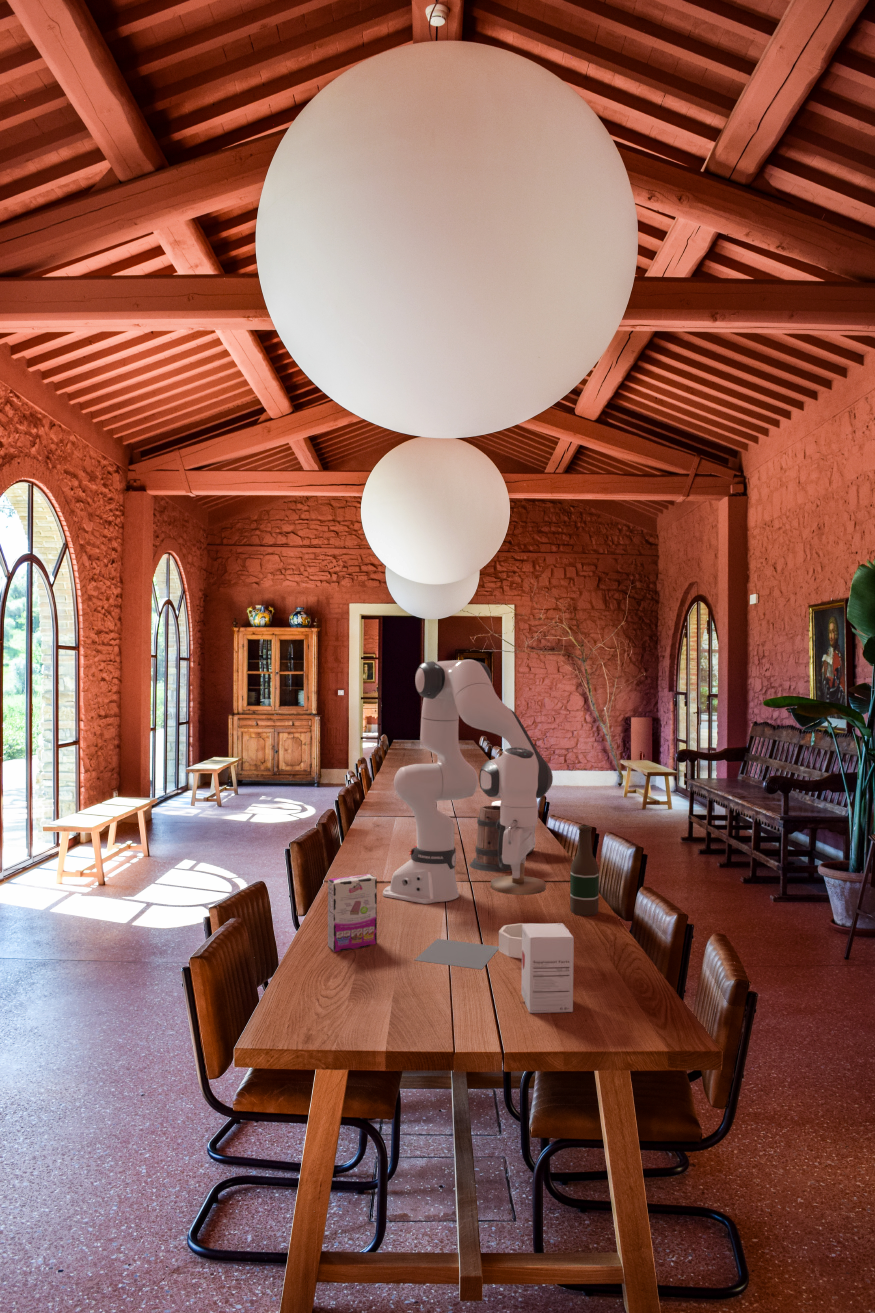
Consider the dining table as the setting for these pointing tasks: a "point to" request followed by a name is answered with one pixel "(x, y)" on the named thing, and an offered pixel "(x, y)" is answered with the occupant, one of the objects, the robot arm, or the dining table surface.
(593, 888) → the beer bottle
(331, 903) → the candy bar box
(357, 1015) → the dining table surface
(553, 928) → the supplement box
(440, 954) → the mat
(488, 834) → the tankard
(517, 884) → the lid
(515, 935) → the bowl
